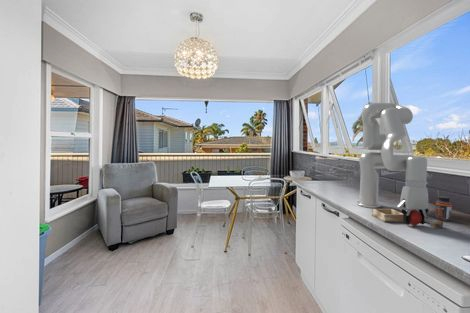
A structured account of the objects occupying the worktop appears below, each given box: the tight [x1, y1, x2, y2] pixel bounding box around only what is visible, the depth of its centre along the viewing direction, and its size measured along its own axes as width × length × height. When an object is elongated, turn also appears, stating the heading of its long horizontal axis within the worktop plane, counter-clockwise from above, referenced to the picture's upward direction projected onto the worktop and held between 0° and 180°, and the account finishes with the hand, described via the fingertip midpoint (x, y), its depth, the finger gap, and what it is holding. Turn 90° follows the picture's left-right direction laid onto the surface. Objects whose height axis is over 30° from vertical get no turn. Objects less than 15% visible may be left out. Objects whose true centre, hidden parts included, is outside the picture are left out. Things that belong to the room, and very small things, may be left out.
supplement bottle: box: [434, 195, 453, 222], centre depth 119 cm, size 6×6×11 cm
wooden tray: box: [371, 208, 404, 223], centre depth 120 cm, size 10×10×4 cm
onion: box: [409, 210, 422, 227], centre depth 110 cm, size 6×6×8 cm
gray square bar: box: [424, 218, 442, 227], centre depth 113 cm, size 12×1×1 cm, turn 2°
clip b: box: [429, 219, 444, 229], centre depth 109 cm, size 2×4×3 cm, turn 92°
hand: (413, 223), depth 110 cm, fingers closed on onion, 5 cm apart
